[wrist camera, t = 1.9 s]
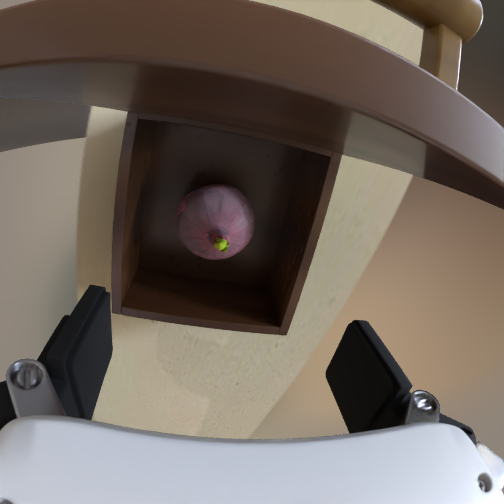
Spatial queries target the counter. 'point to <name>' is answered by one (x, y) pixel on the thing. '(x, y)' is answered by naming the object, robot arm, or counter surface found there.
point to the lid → (267, 77)
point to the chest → (222, 270)
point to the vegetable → (215, 221)
